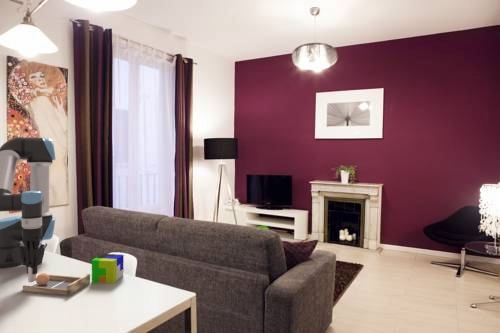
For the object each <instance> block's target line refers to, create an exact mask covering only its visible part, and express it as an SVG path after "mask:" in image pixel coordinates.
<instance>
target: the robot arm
mask: <svg viewBox="0 0 500 333" xmlns="http://www.w3.org/2000/svg"><path fill="white" fill-rule="evenodd" d="M56 158H57V157H56V153H55V144H54V140H53V139H52V138H48V137H47V138H46V137H29V136H28V137H27V136H26V137H23V136H19V137H18V136H16V137H13V138H11V139H8V140H7V141H5V142H4V143H3V144H2V145H1V146H0V212H11V211H12V212H17V211H21V216H19V215H17V216H9V217H5V218H1V219H0V269H3V268H11V267H16V266H21V265H23V266H25V267H26V274H27V276H28V277H27V282H28V283H34V282H36V278H37V274H38V266H41V265H42V264H43V259H44V255H45V250H46V248H47V246H48V242H47V243H44V242H43V241H47V240H51V239H52V238H53V237H54V231H55V224H56V217H54V216H53V213H52V212H51V211H50V167H51V165H53V161H56ZM20 160H25V161H26V164H27V165H28V166H30V167H29V168H30V169H29V170H30V176H29V177H30V180H29V181H30V182H29V183H30V184H29V190H26V191H23V192H21V193H13V189H14V182H15V176H16V169H17V164H18V163H19V162H20Z"/></svg>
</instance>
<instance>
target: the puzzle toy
mask: <svg viewBox="0 0 500 333" xmlns="http://www.w3.org/2000/svg"><path fill="white" fill-rule="evenodd" d="M124 256H125V255H124V254H116V253H114V254H113V253H112V254H111V253H102V254H100V255H99V256H97V257H95V258H93V259H92V260H91V283H101V284H103V283H104V284H114V283H116V282H117V281H118V280H120V279H121V278H122V277H123V276H124ZM115 281H116V282H115Z"/></svg>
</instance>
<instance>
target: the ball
mask: <svg viewBox="0 0 500 333" xmlns="http://www.w3.org/2000/svg"><path fill="white" fill-rule="evenodd" d="M49 275H50V274H48V273H46V272H41V273H39V274H38V275H36V281H35V282H36V284H39V285H45V284H47V283H48V281H49Z"/></svg>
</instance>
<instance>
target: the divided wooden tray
mask: <svg viewBox="0 0 500 333" xmlns="http://www.w3.org/2000/svg"><path fill="white" fill-rule="evenodd" d="M48 275H49V279H51V280H62V281H74V282H73V283H71V284H69V285H68V286H67V289H58V288H46V287H35V286H33V285H22V292H23V291H33V292H44V293H55V294H66V295H70V294H71V293H73V292H75V291H76V290H78V289H79V288H81V287H83V286H84V285H86V284H88V283H89V282H90V283H91V273H87V274H85V275H83V276H81V277H80V276H71V275H70V276H68V275H56V274H48ZM88 285H89V284H88ZM83 288H84V287H83ZM78 291H79V290H78ZM75 293H76V292H75ZM70 296H71V295H70Z"/></svg>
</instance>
